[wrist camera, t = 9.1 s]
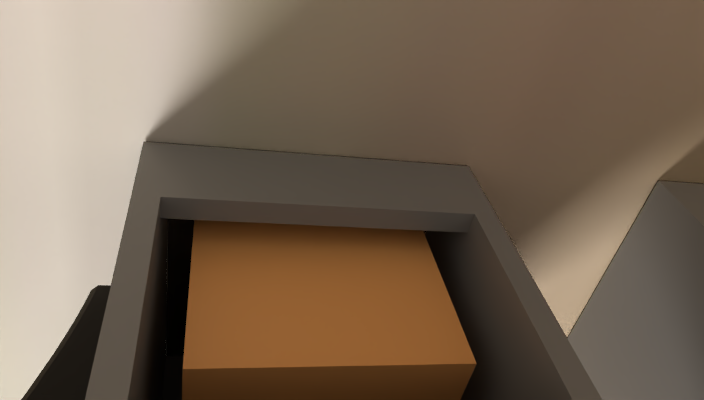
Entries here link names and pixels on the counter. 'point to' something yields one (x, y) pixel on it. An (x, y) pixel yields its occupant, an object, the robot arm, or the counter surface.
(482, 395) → the open grey box
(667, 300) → the grey hollow cube
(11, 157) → the counter surface
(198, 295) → the orange block
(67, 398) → the robot arm
